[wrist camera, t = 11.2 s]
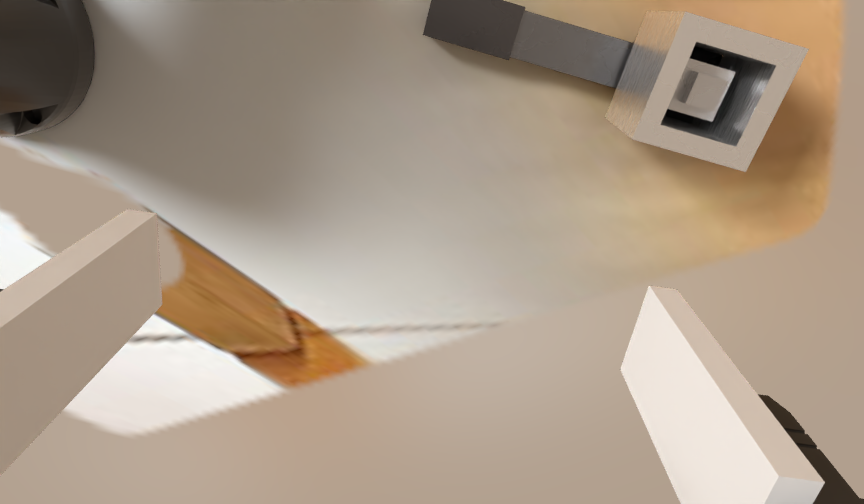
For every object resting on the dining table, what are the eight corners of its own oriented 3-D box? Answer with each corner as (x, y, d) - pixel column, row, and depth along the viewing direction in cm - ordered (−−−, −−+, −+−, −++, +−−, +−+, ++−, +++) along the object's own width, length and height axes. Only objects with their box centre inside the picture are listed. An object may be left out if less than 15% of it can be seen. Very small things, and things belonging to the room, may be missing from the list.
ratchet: (420, 54, 41) (409, 65, 33) (444, -42, 38) (438, -54, 31) (683, 131, 42) (732, 160, 34) (723, 43, 40) (786, 51, 32)
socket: (604, 117, 39) (631, 139, 33) (646, 10, 36) (685, 11, 30) (700, 145, 39) (745, 172, 33) (749, 41, 37) (808, 48, 30)
